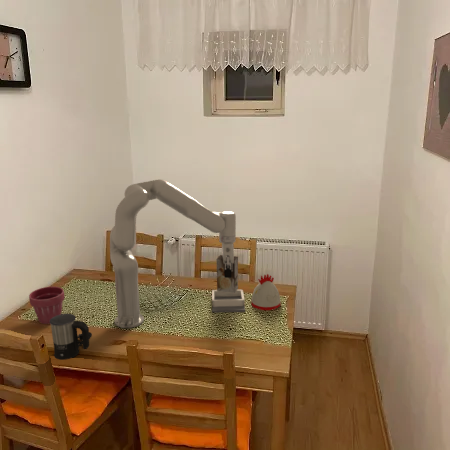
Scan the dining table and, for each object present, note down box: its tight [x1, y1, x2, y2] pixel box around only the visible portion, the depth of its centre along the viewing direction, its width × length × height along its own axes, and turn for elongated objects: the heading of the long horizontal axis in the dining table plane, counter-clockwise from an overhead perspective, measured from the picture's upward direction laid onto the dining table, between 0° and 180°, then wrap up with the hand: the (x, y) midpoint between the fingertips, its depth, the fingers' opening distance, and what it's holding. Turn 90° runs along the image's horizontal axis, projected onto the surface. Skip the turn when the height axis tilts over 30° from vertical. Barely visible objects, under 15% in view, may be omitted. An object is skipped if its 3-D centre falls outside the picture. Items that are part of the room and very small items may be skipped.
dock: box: [211, 289, 246, 314], centre depth 213 cm, size 20×15×4 cm
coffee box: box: [215, 254, 239, 293], centre depth 210 cm, size 9×6×16 cm
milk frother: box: [49, 313, 93, 361], centre depth 173 cm, size 14×16×15 cm
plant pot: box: [28, 286, 66, 325], centre depth 197 cm, size 14×14×13 cm
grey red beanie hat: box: [250, 273, 281, 311], centre depth 210 cm, size 14×14×15 cm
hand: (227, 273), depth 210 cm, fingers closed on coffee box, 7 cm apart
